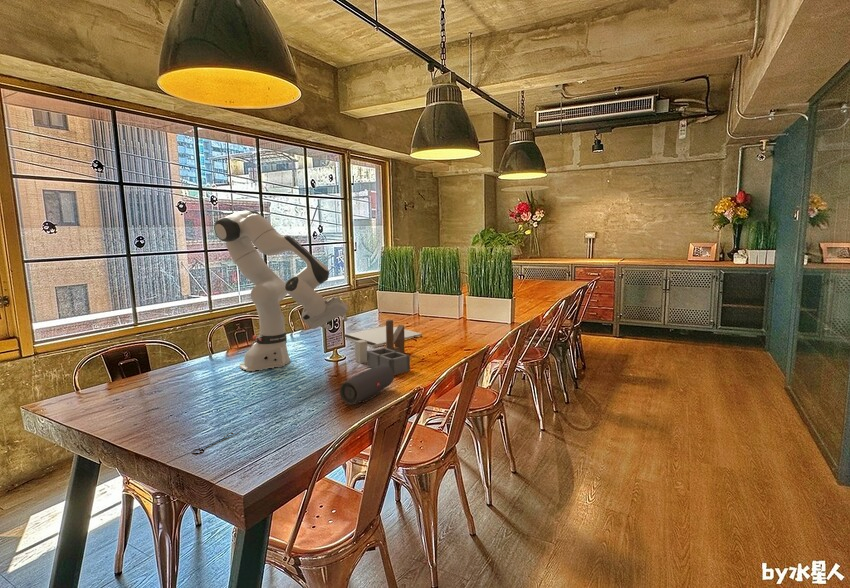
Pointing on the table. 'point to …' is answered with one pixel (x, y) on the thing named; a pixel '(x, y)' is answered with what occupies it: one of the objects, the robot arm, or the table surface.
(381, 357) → the grey cinder block
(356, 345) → the clay bar
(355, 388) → the bluetooth speaker
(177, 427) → the table surface
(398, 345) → the wooden block
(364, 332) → the white flat board
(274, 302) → the robot arm
